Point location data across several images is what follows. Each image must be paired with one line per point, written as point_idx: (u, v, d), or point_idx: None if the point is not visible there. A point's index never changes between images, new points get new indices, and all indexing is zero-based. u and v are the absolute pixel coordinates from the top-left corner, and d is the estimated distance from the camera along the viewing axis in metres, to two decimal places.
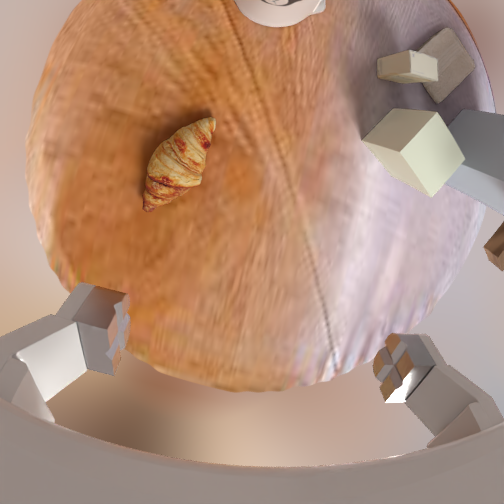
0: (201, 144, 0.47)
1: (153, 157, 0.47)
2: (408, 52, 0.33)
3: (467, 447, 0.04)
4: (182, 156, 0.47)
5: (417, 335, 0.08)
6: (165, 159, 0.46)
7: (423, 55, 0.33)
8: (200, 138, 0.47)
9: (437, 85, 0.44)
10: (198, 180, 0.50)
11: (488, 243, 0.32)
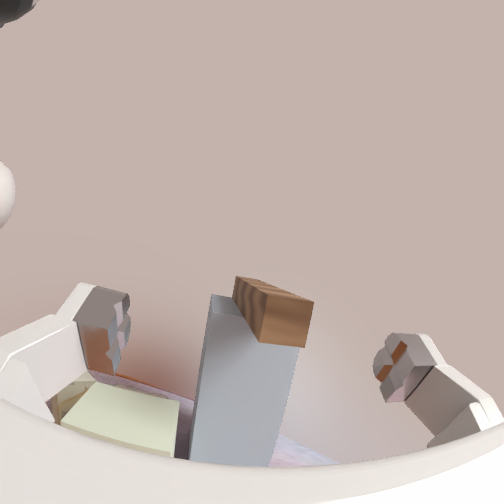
0: None
1: None
2: None
3: (467, 446, 0.04)
4: None
5: (417, 335, 0.08)
6: None
7: None
8: None
9: None
10: None
11: (257, 334, 0.22)
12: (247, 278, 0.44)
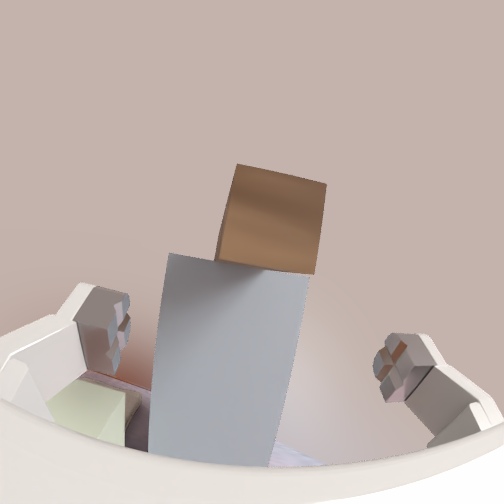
0: None
1: None
2: None
3: (467, 446, 0.04)
4: None
5: (417, 335, 0.08)
6: None
7: None
8: None
9: None
10: None
11: (220, 248, 0.11)
12: None
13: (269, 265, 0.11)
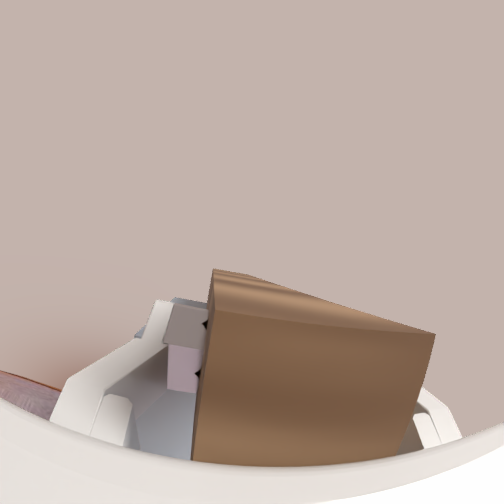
0: None
1: None
2: None
3: (467, 446, 0.04)
4: None
5: None
6: None
7: None
8: None
9: None
10: None
11: None
12: None
13: None
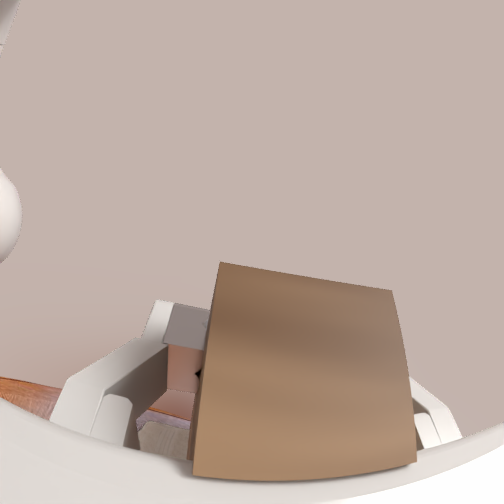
0: None
1: None
2: None
3: (467, 447, 0.04)
4: None
5: None
6: None
7: None
8: None
9: None
10: None
11: (193, 450, 0.04)
12: None
13: (325, 474, 0.03)
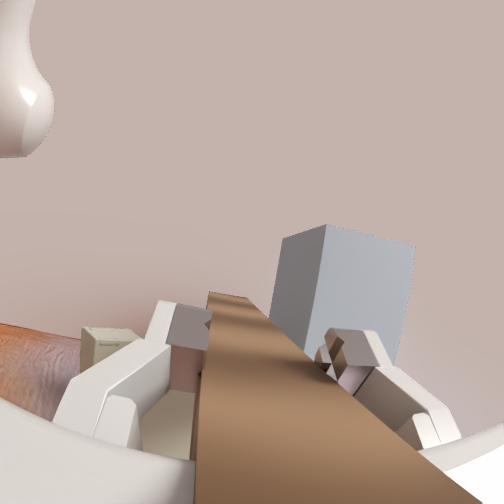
0: None
1: None
2: (82, 330, 0.26)
3: (467, 446, 0.04)
4: None
5: (361, 331, 0.08)
6: None
7: (105, 328, 0.28)
8: None
9: None
10: None
11: None
12: (226, 297, 0.25)
13: None
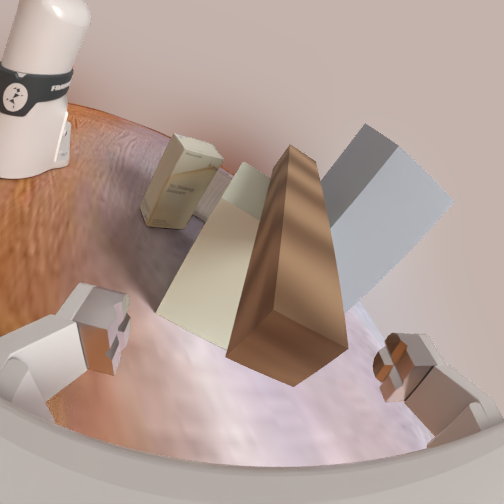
0: None
1: None
2: (173, 136, 0.34)
3: (467, 446, 0.04)
4: None
5: (417, 335, 0.08)
6: None
7: (192, 139, 0.35)
8: None
9: None
10: None
11: (233, 336, 0.12)
12: (301, 156, 0.30)
13: (262, 373, 0.12)
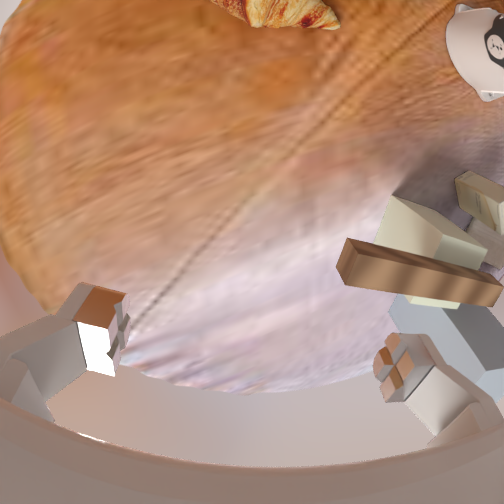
0: (307, 14, 0.27)
1: None
2: None
3: (467, 447, 0.04)
4: None
5: (417, 335, 0.08)
6: None
7: None
8: (314, 12, 0.27)
9: None
10: (257, 21, 0.28)
11: (355, 241, 0.29)
12: (491, 294, 0.30)
13: (341, 253, 0.30)
